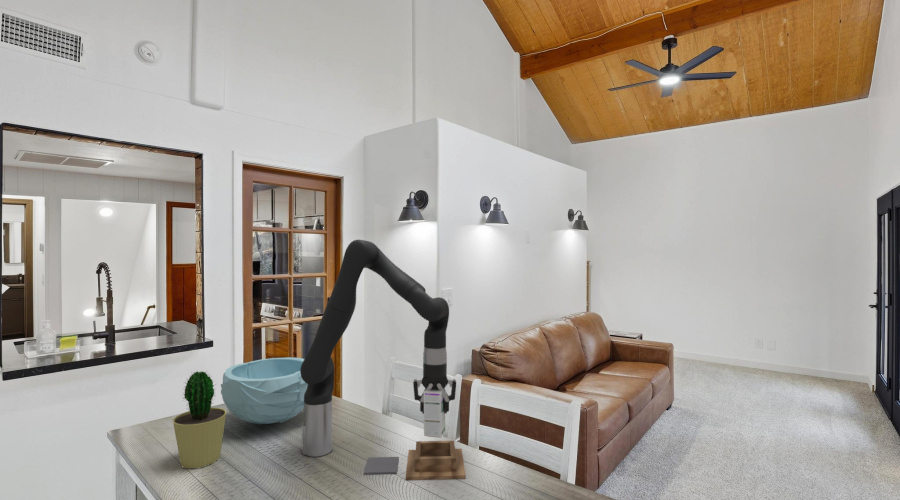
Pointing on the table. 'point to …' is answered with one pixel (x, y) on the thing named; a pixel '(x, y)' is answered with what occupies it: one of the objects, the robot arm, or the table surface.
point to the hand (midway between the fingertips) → (434, 412)
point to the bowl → (265, 390)
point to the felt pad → (381, 465)
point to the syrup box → (434, 413)
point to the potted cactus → (199, 424)
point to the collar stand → (435, 461)
